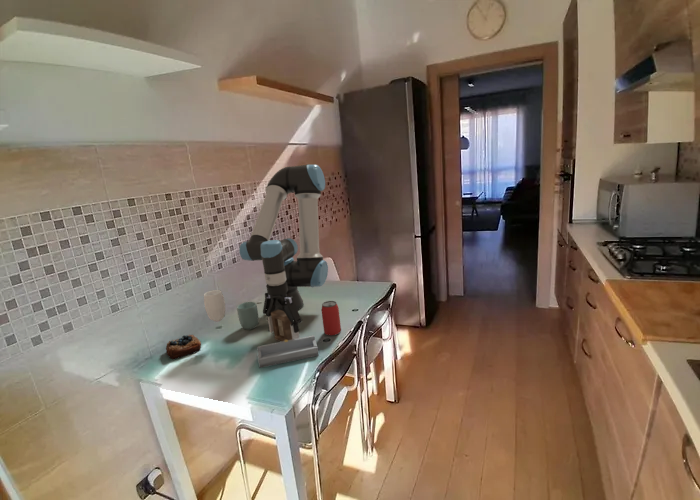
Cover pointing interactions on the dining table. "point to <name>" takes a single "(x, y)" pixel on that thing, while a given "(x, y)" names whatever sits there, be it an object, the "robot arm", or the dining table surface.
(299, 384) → the dining table surface
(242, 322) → the cup
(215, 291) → the cup
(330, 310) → the beer can
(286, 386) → the dining table surface
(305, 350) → the grey trough
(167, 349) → the pastry
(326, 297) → the dining table surface
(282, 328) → the frame
